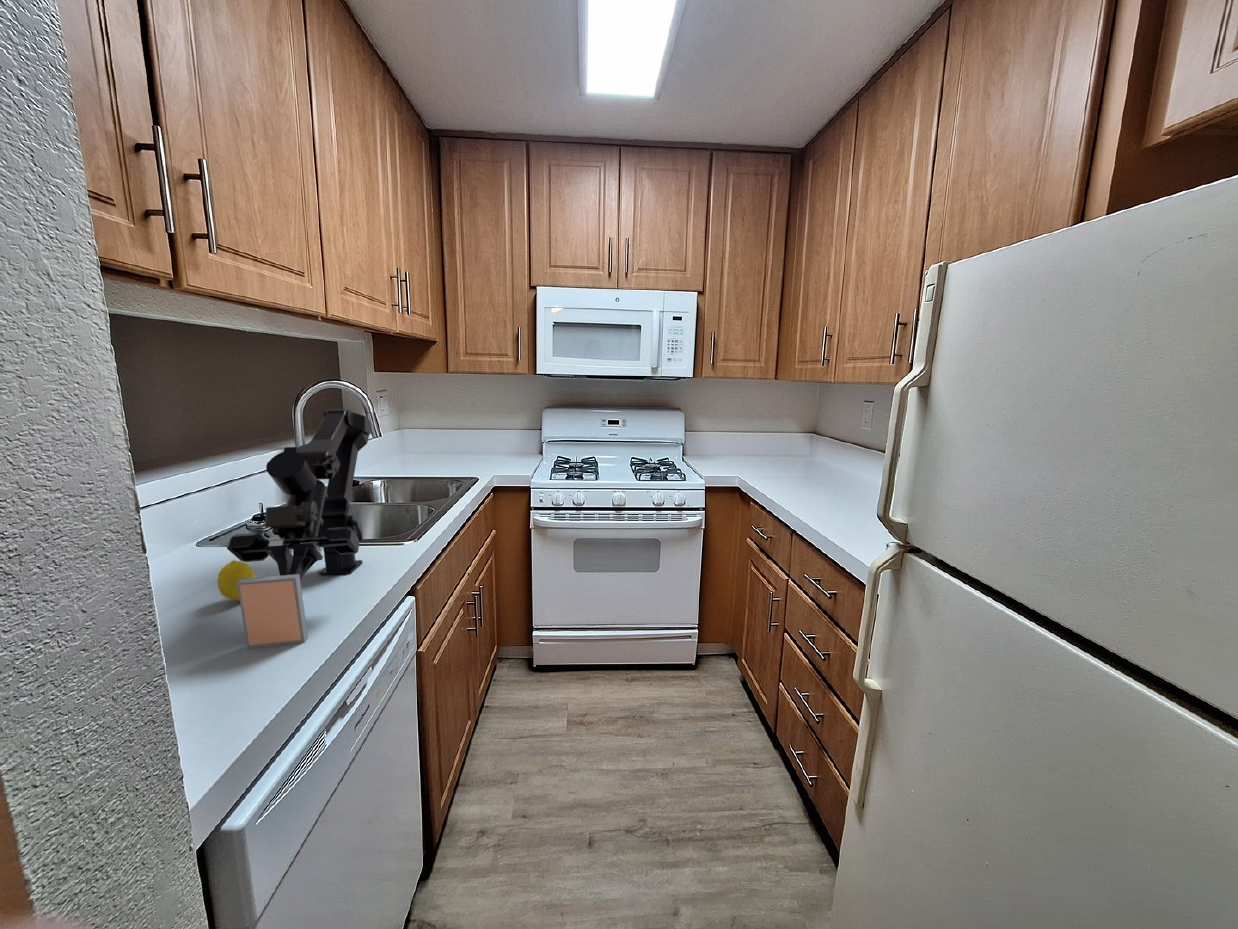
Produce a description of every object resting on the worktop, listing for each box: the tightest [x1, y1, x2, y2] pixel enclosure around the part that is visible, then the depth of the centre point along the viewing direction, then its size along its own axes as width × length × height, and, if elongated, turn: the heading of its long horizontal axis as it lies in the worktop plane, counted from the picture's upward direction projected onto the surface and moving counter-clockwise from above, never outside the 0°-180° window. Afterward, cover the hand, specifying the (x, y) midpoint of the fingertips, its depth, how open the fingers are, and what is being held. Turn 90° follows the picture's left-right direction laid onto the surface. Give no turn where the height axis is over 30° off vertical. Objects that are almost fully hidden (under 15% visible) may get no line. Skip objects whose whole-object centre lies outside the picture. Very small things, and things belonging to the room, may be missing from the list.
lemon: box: [217, 559, 256, 602], centre depth 92 cm, size 6×6×8 cm
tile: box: [237, 574, 309, 649], centre depth 78 cm, size 2×8×11 cm, turn 102°
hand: (286, 591), depth 82 cm, fingers closed
